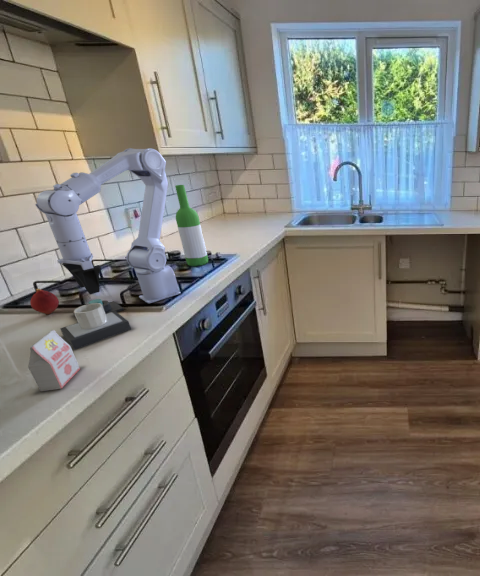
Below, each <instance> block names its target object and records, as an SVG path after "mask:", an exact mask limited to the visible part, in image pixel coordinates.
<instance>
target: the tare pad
mask: <svg viewBox="0 0 480 576" xmlns="http://www.w3.org/2000/svg"><path fill="white" fill-rule="evenodd" d="M102 303H103V305H102V306H103V308H104V311H105V314H107V313H110V312H113V311H116V312H117V313H119V312H122V311H124V310H125V309H124V307H122V305H120V304H119V303H117V302H116V301H114V300H113V301H108V300H102ZM72 315H73V316H74V317H75V318H76V316H75V314H74V312H73V314H72Z"/></svg>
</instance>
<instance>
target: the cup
mask: <svg viewBox="0 0 480 576" xmlns="http://www.w3.org/2000/svg"><path fill="white" fill-rule="evenodd" d="M73 313H74V314H75V316H76V317H75V316H74V317H75V319H76V321H77V323H78V324H79V326H80V328H82V329H92V328H96V327H99V326H101V325H103V324H105V323H106V322H107V321H108V320H107V316H106V314H105V311H104V308H103V306H102V304H101V303H91V304H89V303H87V304H84V305H80V306H78V307H76V308H74V310H73ZM74 314H73V315H74Z"/></svg>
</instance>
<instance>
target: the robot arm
mask: <svg viewBox="0 0 480 576" xmlns="http://www.w3.org/2000/svg"><path fill="white" fill-rule="evenodd" d="M166 165H167V161H166V160H165V158H164V157H163V155H162V154H161V153H160V151H158V150H157V149H154V148H151V147H149V148H131V147H129V148H125V149H124V150H123V151H120V152H117V153H116V155H114V156H113V157H112V158H110V159H108V160H107V161H106V162H104V163H103V164H101V165H100V166H98V167H96V168H95V169H94V170H92V171H91V172H90V173H88V172H84V171H83V172H81V171H80V172H72V173H71V174H70V175H69V176H70V178H68V179H66V180H65V181H63V182H62V183H55V184H54V185H53V186H52V187H53V190H51V189H50V190H49V189H47V190H43V191H41V192H40V193H39V194H38V195H37V197H36V203H35V204H34V205H35V207H36V208H37V209H38V210H39V212H41V213H43V214H44V215H45V217H46V219H47V222H48V225H49V227H50V230H51V232H52V235H53V238H54V240H55V243H56V245H57V247H58V250H59V253H60V254H61V257H62V258H59V259H57V260H56V261H57V264H60V265H62V267H64V268H65V269H66V270H67V271H68V272H69V273H70V274H71V275H72V277H73V278H74V280H75V282H76V284H78V286H79V287H80V288H85V290H86V291H87V293H88V294H89V295H94V294H98V293H100V291H101V289H100V272H101V268H102V267H101V265H99V264H96V265H93V262H92V261H93V258H94V254H93V253H92V252H91V249H90V246H89V243H88V241H87V238H86V235H85V233H84V230H83V227H82V224H81V222H80V220H79V216H78V214H77V212H78V211H79V209H80V206H81V205H82V204H84V203H85V202H87V201H88V200H90V199H91V198H93V197H94V196H96V195H97V194H99V193H100V192H101V190H102V185H103V184H105V183H106V182H108V181H110V180H112V179H113V178H115V177H117V176H119V175H120V174H122V173H124V172H126V171H130V172H131V173H132V174H134V175H135V176H136V177H138V178H139V179H140V180H141V181H142V182H143V184H144V185H145V187H144V194H143V201H142V207H141V215H140V221H139V227H138V233H137V234H138V235H137V237H136V238H135V239H134V240H132V242H131V245H130V248H129V250H128V251H127V253H126V256H125V259H126V262H127V264H128V265H129V266H130V267H132V268H133V270H134V272H135V274H136V277H137V280H138V284H139V287H140V290H141V293H142V294H141V295H139V296H138V298H139V299H140V300H142V301H144V302H145V303H147V304H153V303H156V302H159V301H163V300H166V299H168V298H172V297H174V296H177V295H181V291H180V289H179V285H178V281H177V277H176V274H175V272H174V269H173V268H172V267H171V266H170V265H167V256H166V246H164V244H163V242H161V233H162V226H163V220H164V213H165V208H166V207H165V206H166V201H167V194H168V186H169V182H168V177H167V172H166Z"/></svg>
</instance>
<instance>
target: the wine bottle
mask: <svg viewBox="0 0 480 576" xmlns="http://www.w3.org/2000/svg"><path fill="white" fill-rule="evenodd" d="M174 188H175V191H176V196H177V200H178V205H179V209H178V210H177V211H176V213H175V221H176V225H177V230H178V234H179V237H180V242H181V246H182V250H183V253H184V258H185V261H186V264H187V266H188V267H200V266H203V265H206V264H208V263H209V257H208V251H207V247H206V242H205V238H204V235H203V229H202V226H201V221H200V217H199V214H198V212H197V211H196V210H195V209H193V208H192V207H190V203H189V199H188V195H187V191H186V187H185V185H184V184H177V185H175V187H174Z"/></svg>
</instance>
